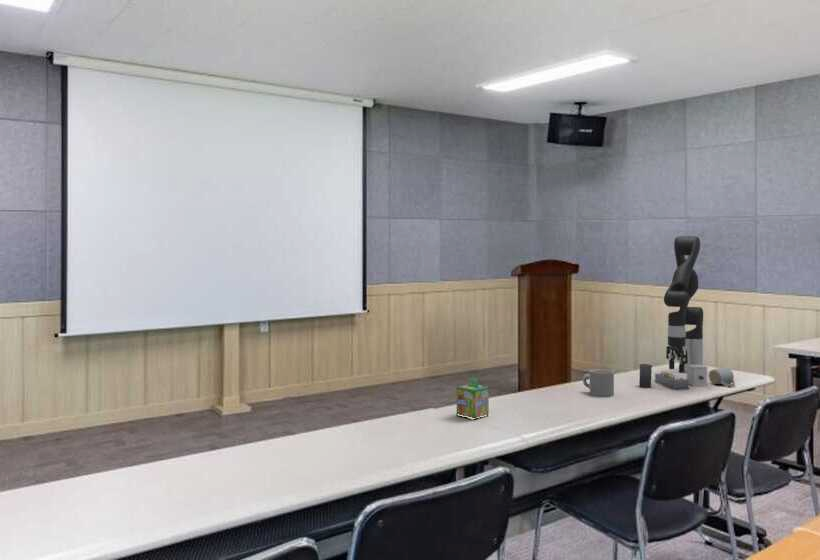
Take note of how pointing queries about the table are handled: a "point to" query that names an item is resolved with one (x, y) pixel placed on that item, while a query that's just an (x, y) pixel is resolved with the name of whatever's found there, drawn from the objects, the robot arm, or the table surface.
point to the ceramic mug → (722, 376)
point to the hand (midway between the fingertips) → (676, 370)
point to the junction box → (697, 375)
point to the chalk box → (473, 399)
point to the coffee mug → (600, 383)
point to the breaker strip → (671, 380)
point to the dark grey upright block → (645, 375)
